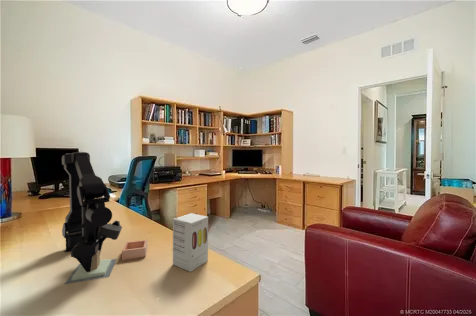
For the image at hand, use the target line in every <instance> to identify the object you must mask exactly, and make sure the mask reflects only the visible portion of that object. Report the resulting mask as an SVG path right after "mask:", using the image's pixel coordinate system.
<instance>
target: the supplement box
mask: <svg viewBox="0 0 476 316" xmlns="http://www.w3.org/2000/svg"><path fill="white" fill-rule="evenodd" d="M208 261H209V216H206V215H202V214H197V213H193V212H190V213H187V214H185V215H181V216H179V217H175V218H173V219H172V265H173V266H176V267H178V268H180V269H182V270H185V271H188V272H190V273H191V272H193V271H194V270H196V269H197V268H199V267H200V266H202V265H203V264H205V263H207V262H208Z"/></svg>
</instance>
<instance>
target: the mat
mask: <svg viewBox="0 0 476 316" xmlns="http://www.w3.org/2000/svg"><path fill="white" fill-rule="evenodd" d="M111 259H112V258H111ZM117 260H118V258H113V259H112V262H111V264H110V266H109V268H108V270H107V272H106V274H105V275H102V276H96V277H90V278H84V279H77V280H72V276H73V275H74V274H75V272H76V271H77V270H78V268H79V267H80V266H81V264H80V263H79V264H78V265H77V267H75V269H74V270H73V271H72V273H71V274H70V276H69V277H68V278H67V279H66V281H65V282H64V284H63V285H68V284H69V285H70V284H73V283H81V282H86V281H93V280H99V279H100V280H101V279H104V278H105V279H106V278H110V276H111V273H112V272H113V270H114V267H115V264H116V262H117Z"/></svg>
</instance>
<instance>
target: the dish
mask: <svg viewBox="0 0 476 316" xmlns="http://www.w3.org/2000/svg"><path fill="white" fill-rule="evenodd" d="M147 252H148V239H140V240H134V241H133V240H132V241H126V242H125V243H124V246H123V248H122V250H121V260H122V261H129V260H137V259H138V260H139V259H145V258H146V257H147Z"/></svg>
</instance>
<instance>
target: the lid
mask: <svg viewBox="0 0 476 316" xmlns="http://www.w3.org/2000/svg"><path fill="white" fill-rule="evenodd" d="M100 256H101V252H100V250H98V252H97V253H96V254H95V255H94V256H93V261H92V267H91V271H90V272H86V271H85V269H84V268H83V267H82V265H81V266H80V267H79V268H78V270H77V271H76V272H75V274H74V275H73V276H72V280H77V279H84V278H90V277H96V276H102V275H105V274H106V272H107V270H108V268H109V266H110V264H111V262H112V258H109V259H100Z"/></svg>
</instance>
